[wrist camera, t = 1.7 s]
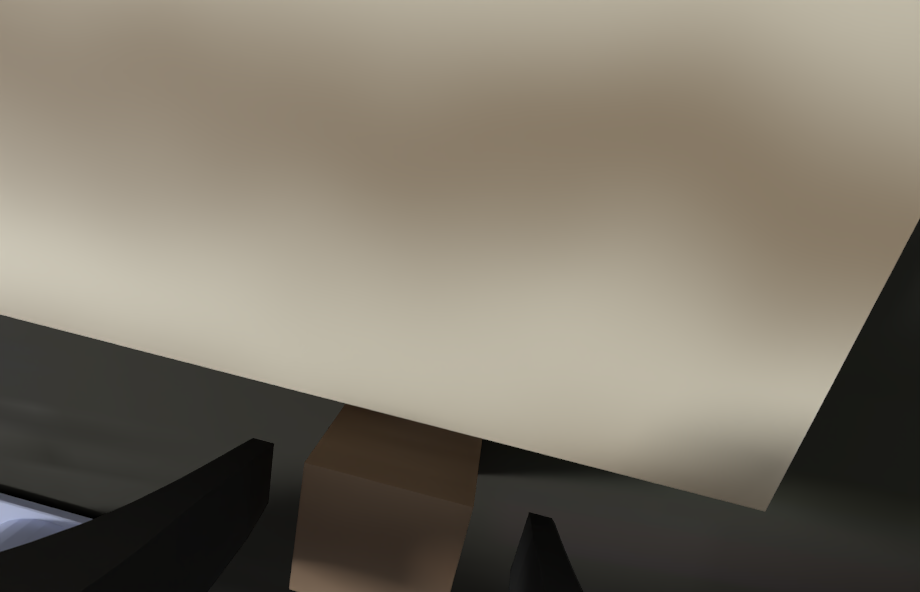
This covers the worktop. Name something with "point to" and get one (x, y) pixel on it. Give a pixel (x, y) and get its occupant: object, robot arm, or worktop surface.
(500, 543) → the worktop surface
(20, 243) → the cabinet
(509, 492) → the worktop surface
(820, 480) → the worktop surface
